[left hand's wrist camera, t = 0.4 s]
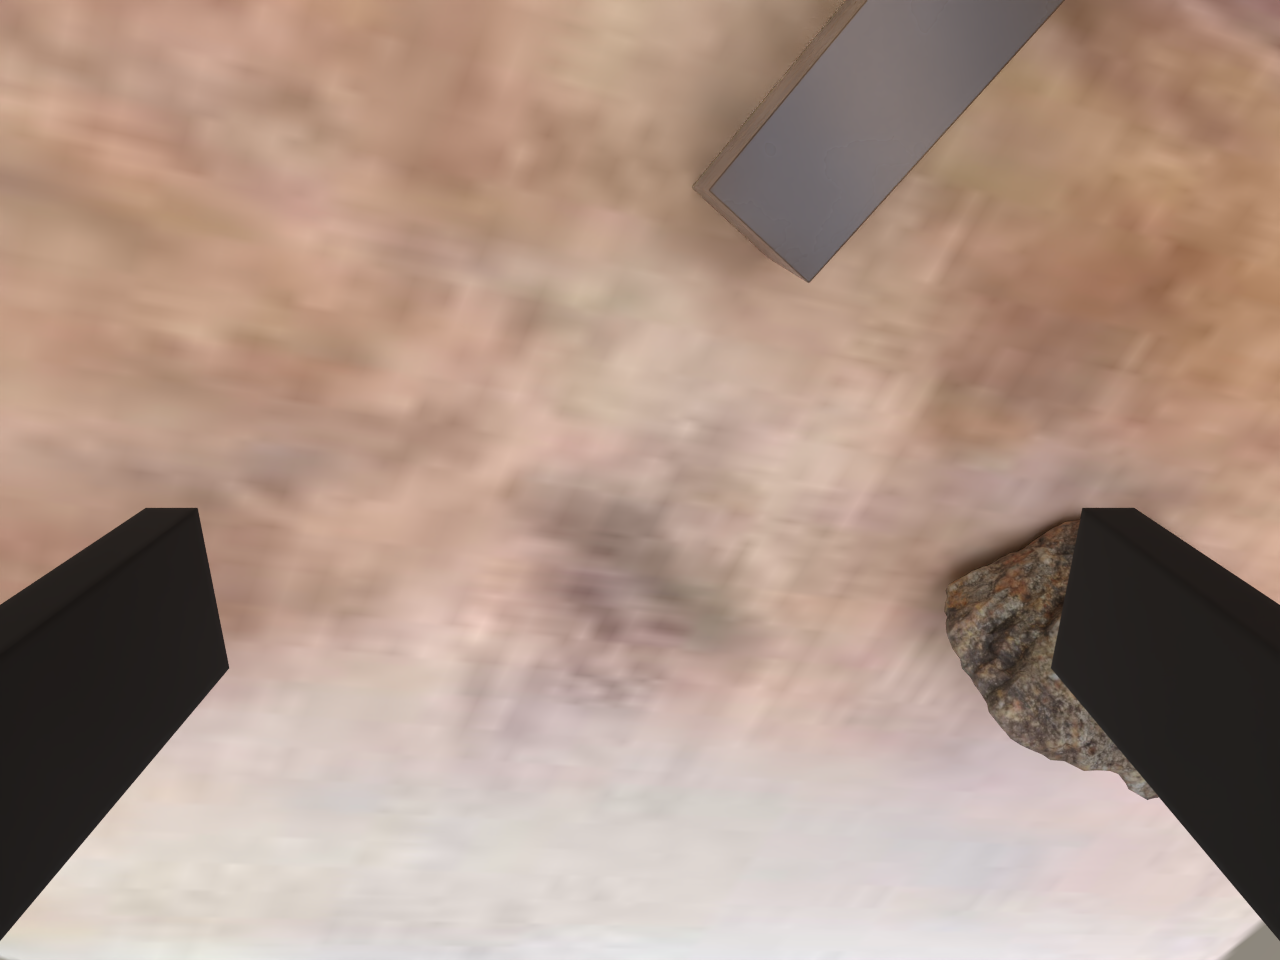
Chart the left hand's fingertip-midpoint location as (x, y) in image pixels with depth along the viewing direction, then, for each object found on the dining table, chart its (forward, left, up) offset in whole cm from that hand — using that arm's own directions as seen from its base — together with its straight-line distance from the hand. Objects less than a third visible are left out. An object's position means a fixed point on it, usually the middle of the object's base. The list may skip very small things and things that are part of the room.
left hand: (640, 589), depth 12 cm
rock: (+7, +24, -24) cm, 35 cm away
